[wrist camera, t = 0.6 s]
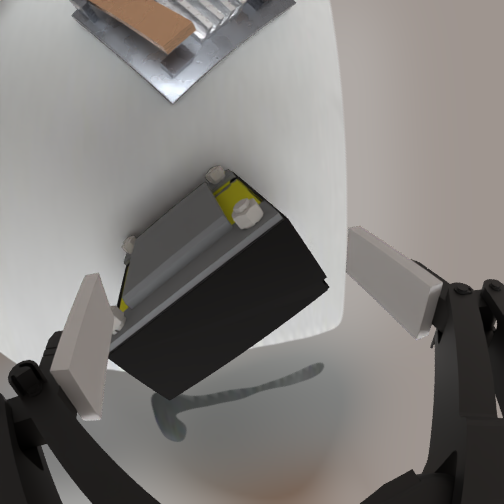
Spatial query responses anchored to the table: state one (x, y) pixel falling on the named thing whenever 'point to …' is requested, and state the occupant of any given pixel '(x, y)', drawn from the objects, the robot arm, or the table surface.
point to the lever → (149, 21)
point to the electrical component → (208, 285)
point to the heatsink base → (192, 48)
